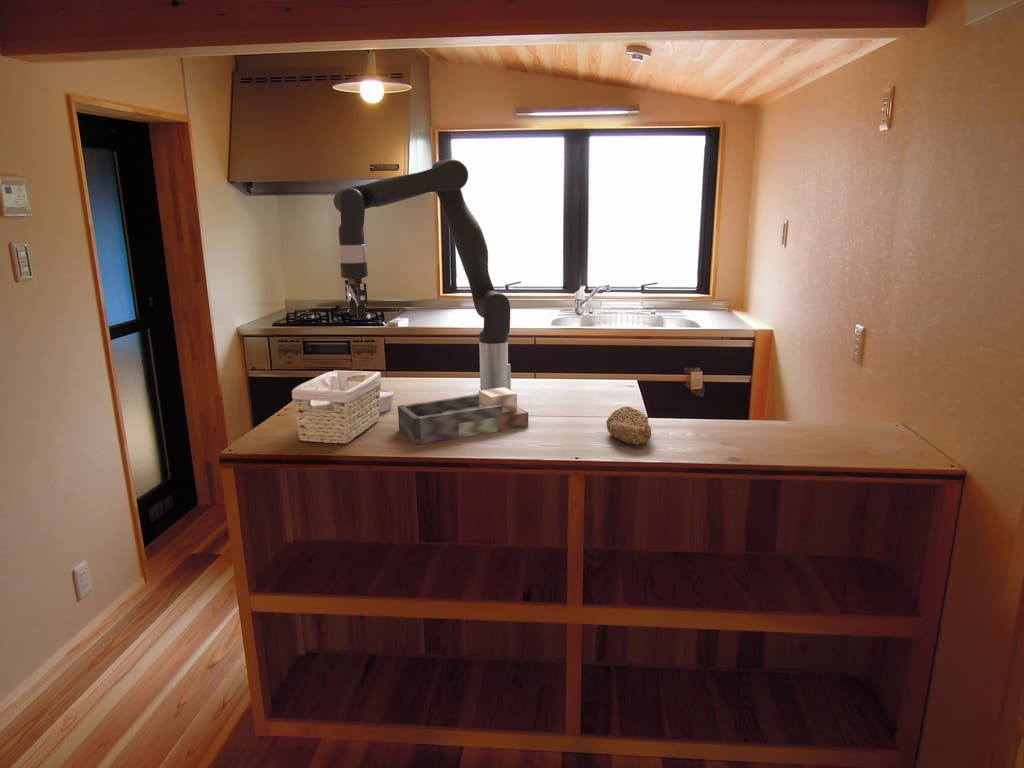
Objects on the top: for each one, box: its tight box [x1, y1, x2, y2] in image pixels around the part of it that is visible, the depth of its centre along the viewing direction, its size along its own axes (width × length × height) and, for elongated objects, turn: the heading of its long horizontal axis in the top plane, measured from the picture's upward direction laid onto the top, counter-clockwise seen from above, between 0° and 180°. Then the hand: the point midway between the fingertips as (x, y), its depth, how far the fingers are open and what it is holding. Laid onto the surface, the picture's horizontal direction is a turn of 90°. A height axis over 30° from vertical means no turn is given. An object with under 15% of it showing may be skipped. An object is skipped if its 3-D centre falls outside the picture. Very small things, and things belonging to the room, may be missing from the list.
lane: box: [397, 393, 529, 446], centre depth 190 cm, size 33×14×7 cm, turn 117°
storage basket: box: [291, 369, 382, 444], centre depth 188 cm, size 24×16×15 cm
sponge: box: [605, 406, 652, 446], centre depth 181 cm, size 13×8×20 cm
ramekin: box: [379, 388, 395, 414], centre depth 209 cm, size 11×11×5 cm
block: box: [478, 387, 518, 413], centre depth 194 cm, size 8×8×5 cm
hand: (357, 317), depth 200 cm, fingers open, 8 cm apart
